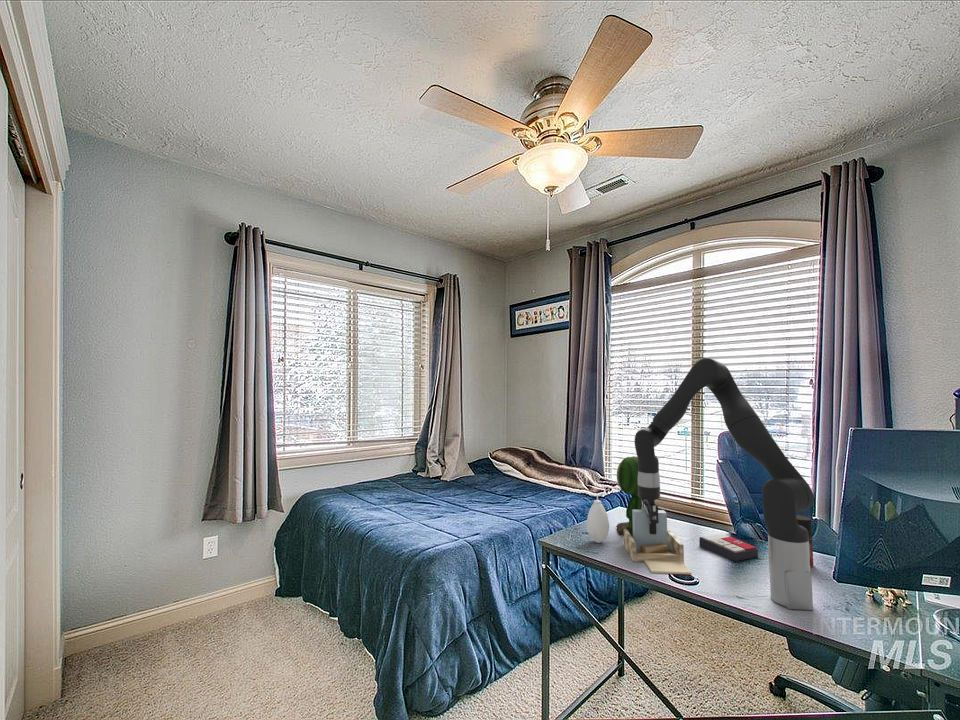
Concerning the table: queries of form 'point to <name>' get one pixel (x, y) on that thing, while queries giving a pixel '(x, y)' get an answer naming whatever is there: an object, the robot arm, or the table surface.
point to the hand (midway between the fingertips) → (649, 530)
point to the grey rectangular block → (642, 529)
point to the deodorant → (807, 524)
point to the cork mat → (667, 567)
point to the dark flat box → (728, 547)
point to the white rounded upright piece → (597, 522)
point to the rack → (673, 546)
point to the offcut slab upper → (654, 548)
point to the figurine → (629, 490)
